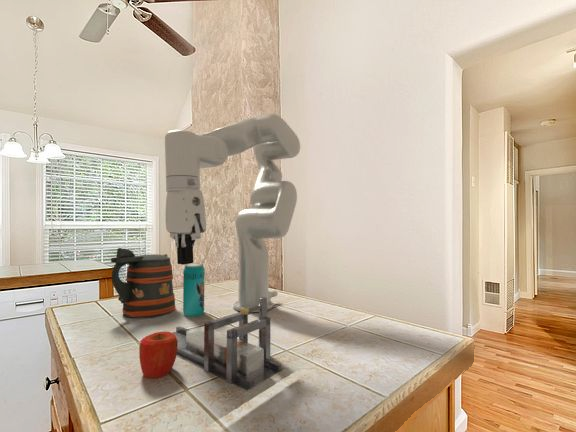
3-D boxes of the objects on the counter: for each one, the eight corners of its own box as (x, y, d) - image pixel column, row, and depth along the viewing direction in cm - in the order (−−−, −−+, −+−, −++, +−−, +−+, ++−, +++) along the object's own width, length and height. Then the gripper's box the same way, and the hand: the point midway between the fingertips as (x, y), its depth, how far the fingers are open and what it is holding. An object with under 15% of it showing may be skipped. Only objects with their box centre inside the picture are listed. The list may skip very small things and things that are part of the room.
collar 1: (243, 357, 61) (243, 311, 61) (247, 359, 60) (247, 312, 60) (203, 375, 53) (204, 323, 54) (208, 378, 53) (208, 324, 53)
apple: (174, 385, 50) (175, 339, 51) (134, 389, 49) (134, 342, 49) (179, 367, 56) (180, 326, 57) (143, 370, 55) (144, 329, 55)
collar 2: (265, 366, 57) (265, 316, 57) (270, 368, 56) (270, 317, 56) (226, 387, 50) (226, 330, 50) (231, 389, 49) (231, 332, 49)
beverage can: (198, 321, 83) (198, 266, 84) (179, 319, 85) (179, 265, 85) (207, 314, 89) (208, 263, 89) (189, 313, 90) (190, 263, 91)
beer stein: (134, 326, 79) (135, 249, 80) (96, 319, 85) (97, 247, 85) (185, 307, 97) (185, 244, 97) (150, 303, 102) (151, 243, 103)
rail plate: (181, 333, 74) (181, 325, 74) (283, 374, 54) (283, 362, 54) (145, 345, 67) (145, 336, 67) (247, 396, 47) (247, 383, 47)
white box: (185, 351, 61) (186, 331, 61) (203, 345, 64) (203, 326, 64) (246, 381, 49) (246, 356, 50) (263, 372, 53) (263, 348, 53)
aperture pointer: (262, 356, 61) (262, 296, 61) (268, 359, 60) (268, 297, 60) (239, 368, 56) (239, 302, 56) (245, 370, 55) (245, 304, 55)
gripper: (216, 184, 70) (218, 264, 70) (179, 188, 79) (181, 258, 79) (188, 182, 64) (190, 269, 64) (151, 186, 73) (153, 263, 73)
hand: (185, 263), depth 71 cm, fingers closed
